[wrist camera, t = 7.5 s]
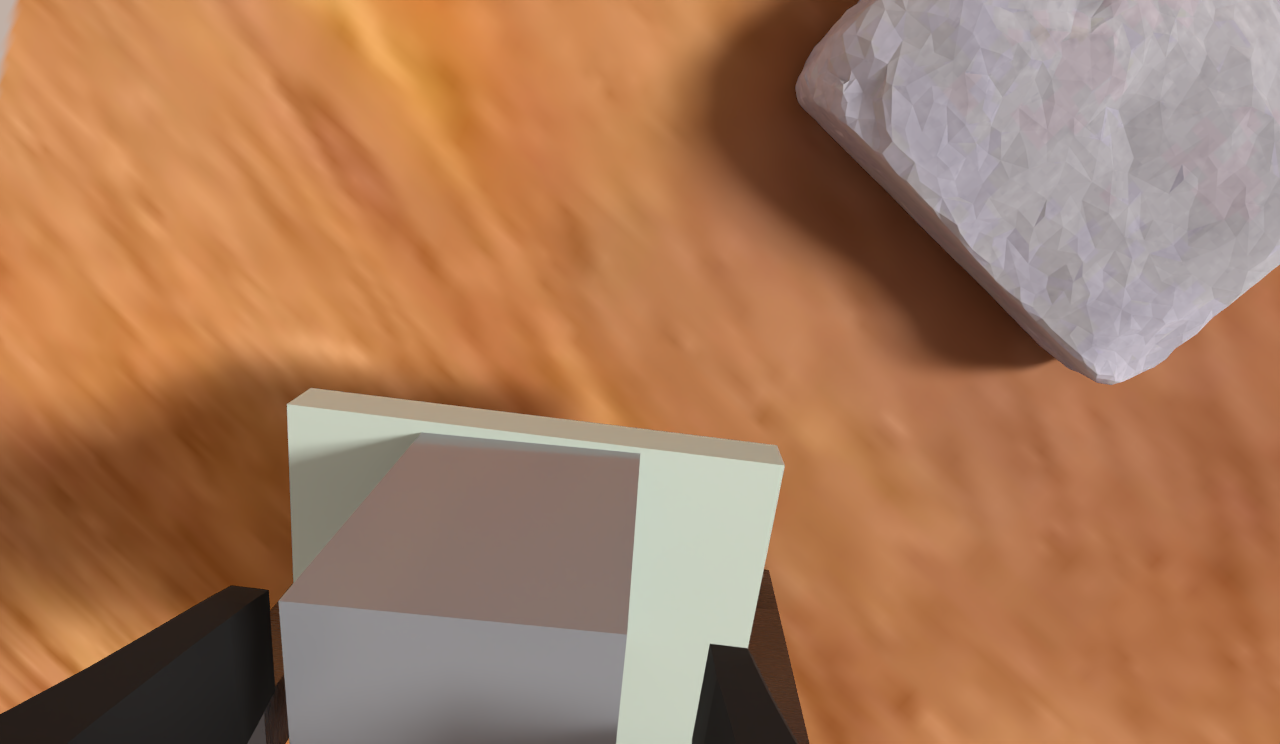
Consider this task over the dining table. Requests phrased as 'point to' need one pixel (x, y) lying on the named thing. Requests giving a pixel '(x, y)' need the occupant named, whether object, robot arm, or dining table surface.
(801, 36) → the dining table surface
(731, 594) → the trapdoor
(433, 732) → the grey rectangular block
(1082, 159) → the stone block
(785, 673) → the frame
